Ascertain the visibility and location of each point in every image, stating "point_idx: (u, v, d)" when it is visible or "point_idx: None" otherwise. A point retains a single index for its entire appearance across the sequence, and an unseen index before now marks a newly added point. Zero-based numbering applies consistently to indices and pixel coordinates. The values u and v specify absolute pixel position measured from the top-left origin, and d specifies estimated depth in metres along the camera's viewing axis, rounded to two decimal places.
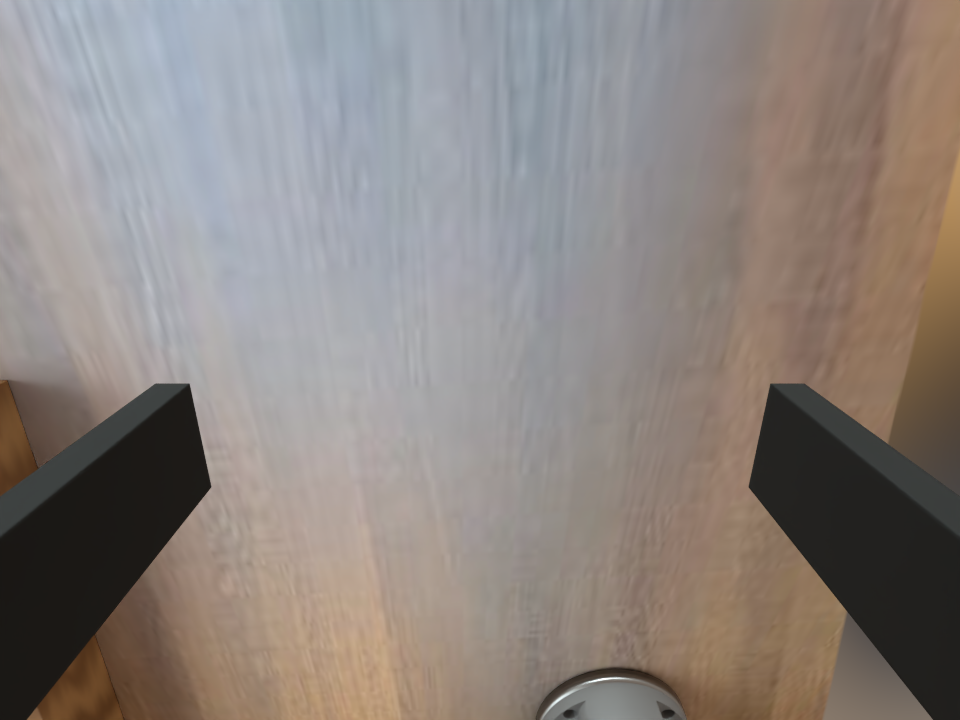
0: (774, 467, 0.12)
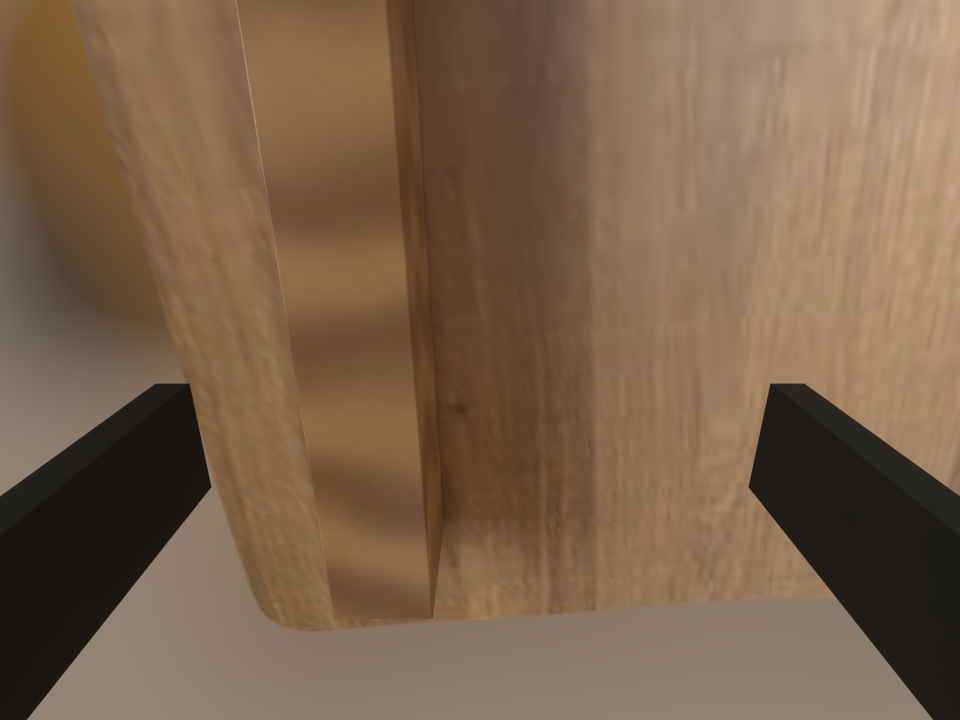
0: (774, 467, 0.12)
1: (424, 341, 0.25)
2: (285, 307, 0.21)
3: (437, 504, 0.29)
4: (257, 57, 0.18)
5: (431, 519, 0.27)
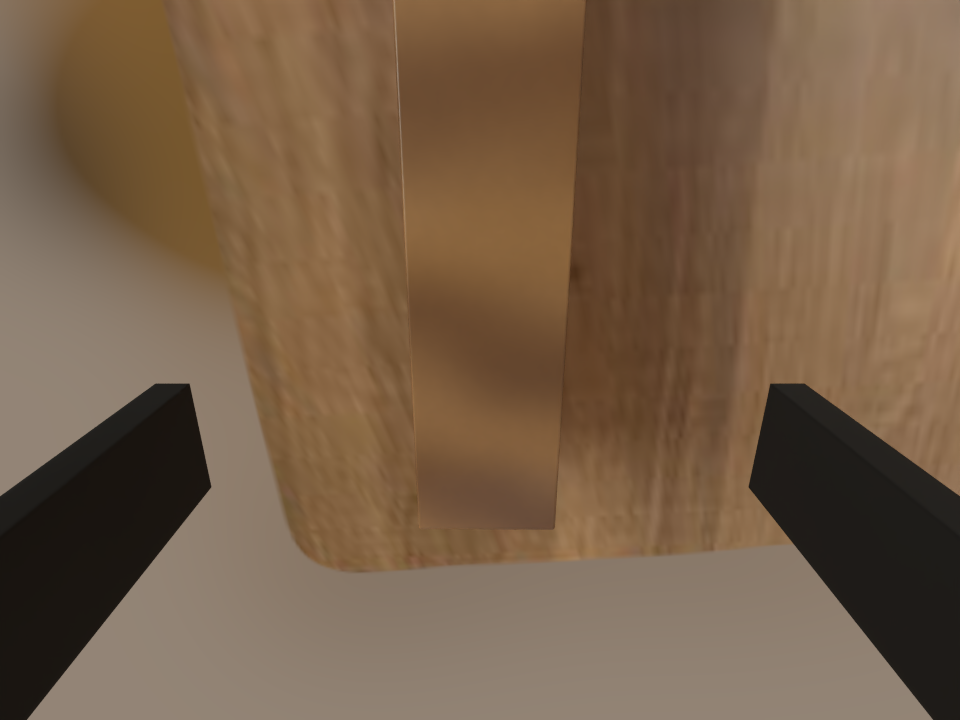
0: (774, 467, 0.12)
1: None
2: (396, 17, 0.14)
3: None
4: None
5: None
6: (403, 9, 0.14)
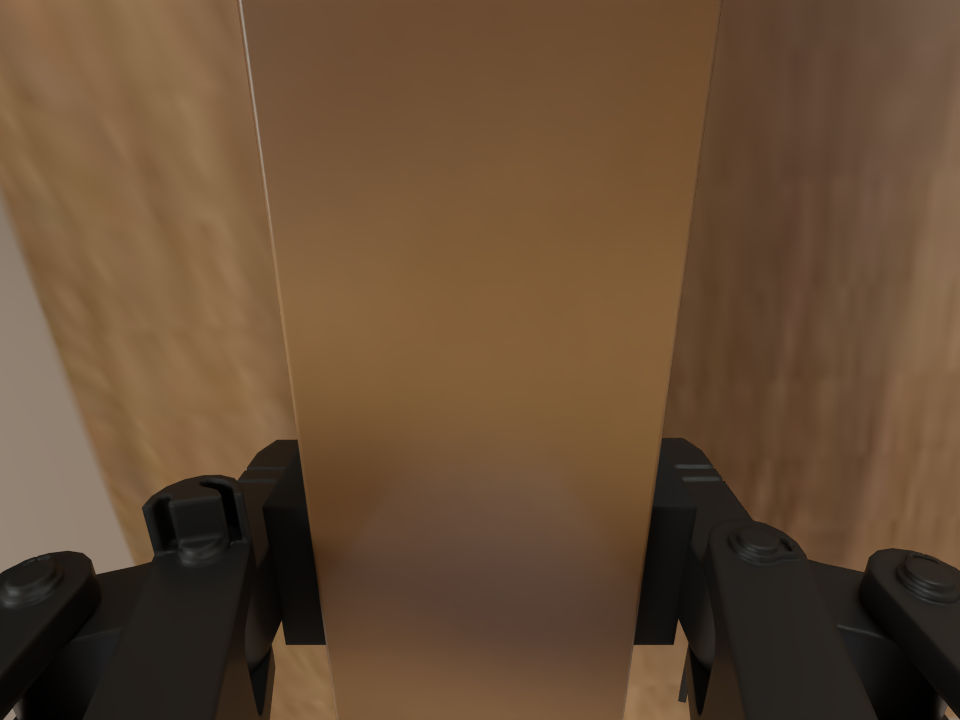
0: None
1: None
2: None
3: None
4: None
5: None
6: None
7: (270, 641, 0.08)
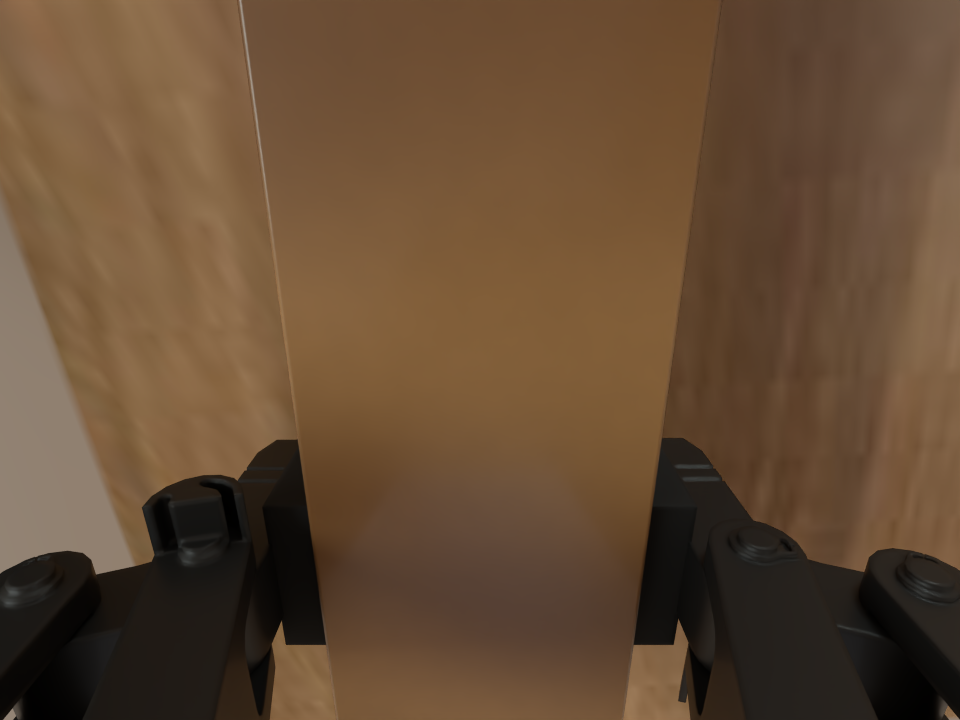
0: None
1: None
2: None
3: None
4: None
5: None
6: None
7: (270, 641, 0.08)
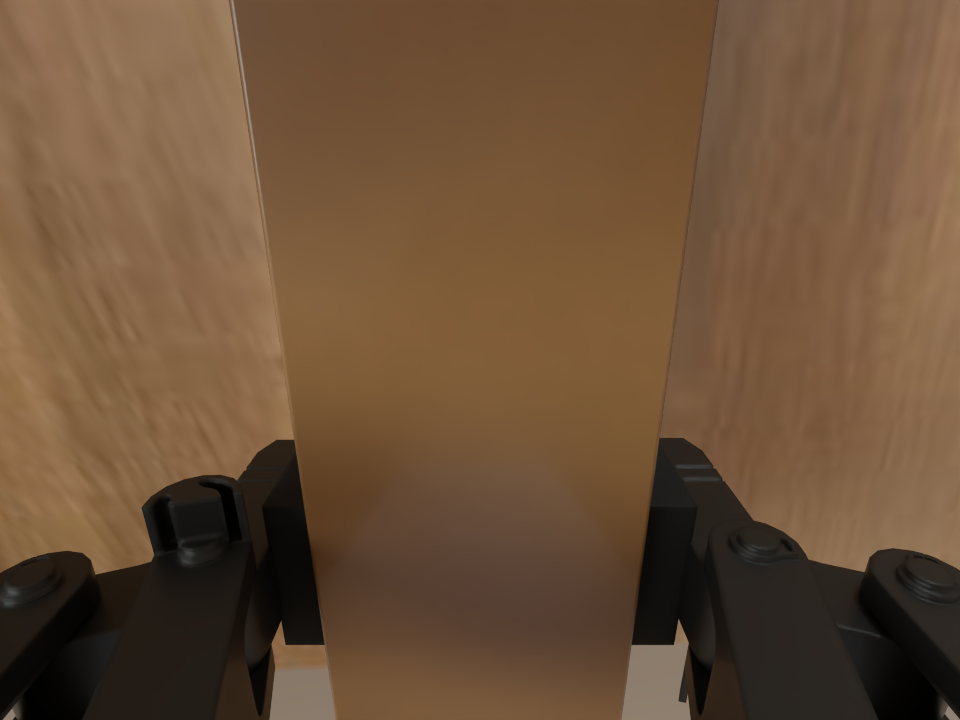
0: None
1: None
2: None
3: None
4: None
5: None
6: None
7: (270, 641, 0.08)
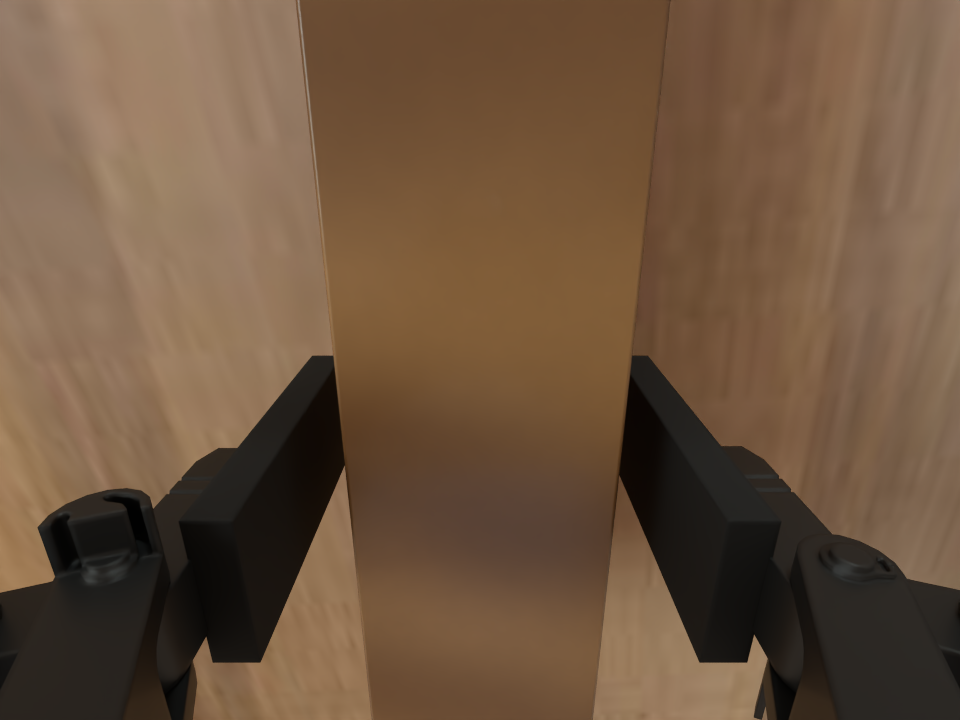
0: None
1: None
2: None
3: None
4: None
5: None
6: None
7: (190, 656, 0.08)
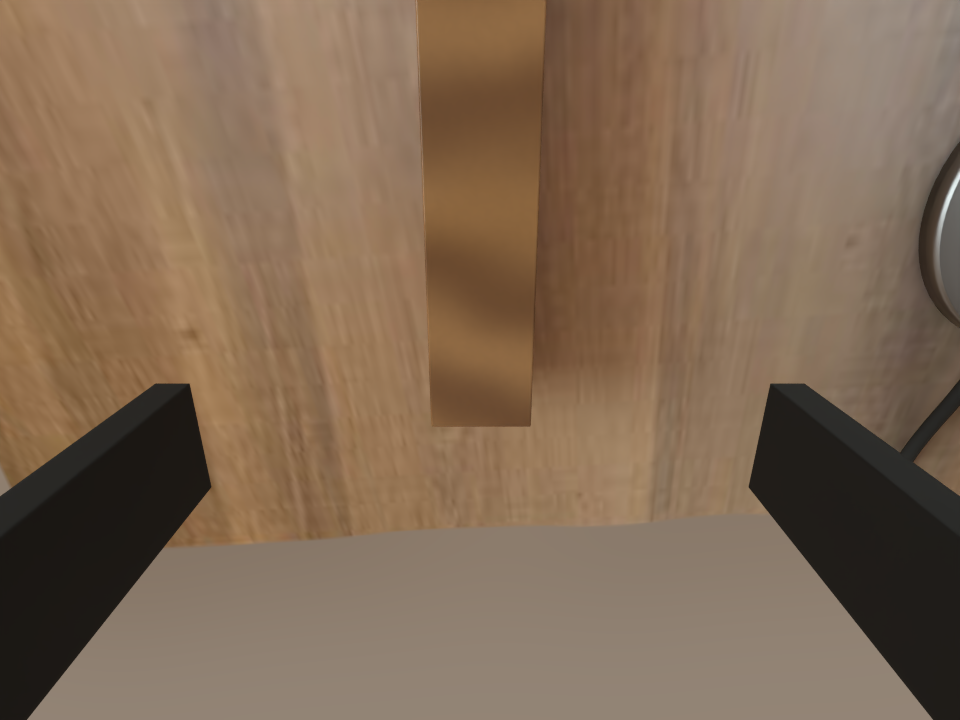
0: (774, 467, 0.12)
1: None
2: (419, 62, 0.21)
3: None
4: None
5: None
6: (424, 57, 0.21)
7: None
